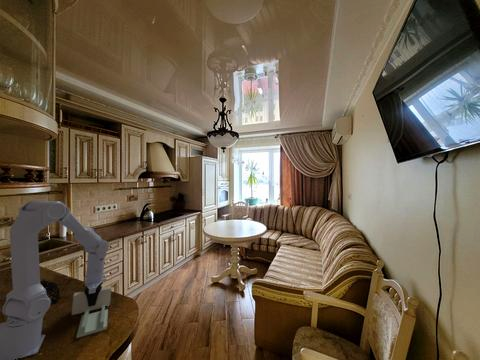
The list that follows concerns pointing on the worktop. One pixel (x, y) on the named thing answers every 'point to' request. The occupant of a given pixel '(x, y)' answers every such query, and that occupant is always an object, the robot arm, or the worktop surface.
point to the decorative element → (49, 288)
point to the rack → (93, 322)
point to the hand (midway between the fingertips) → (92, 303)
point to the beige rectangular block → (82, 304)
